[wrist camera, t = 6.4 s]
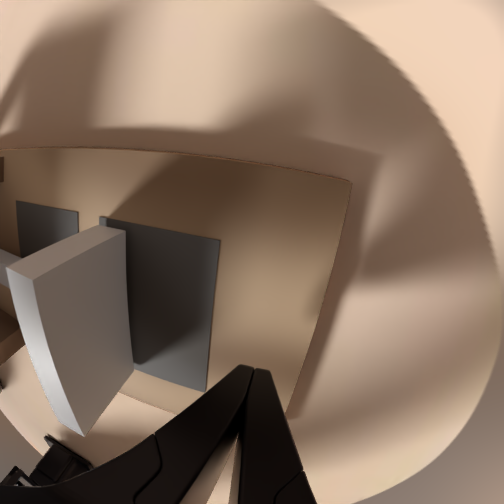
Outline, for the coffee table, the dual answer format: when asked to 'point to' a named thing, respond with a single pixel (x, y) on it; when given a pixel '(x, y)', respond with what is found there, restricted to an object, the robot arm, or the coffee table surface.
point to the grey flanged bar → (75, 320)
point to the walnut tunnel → (8, 319)
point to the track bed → (189, 255)
